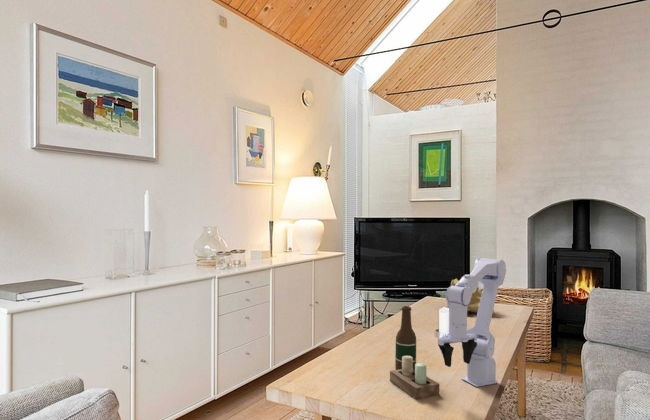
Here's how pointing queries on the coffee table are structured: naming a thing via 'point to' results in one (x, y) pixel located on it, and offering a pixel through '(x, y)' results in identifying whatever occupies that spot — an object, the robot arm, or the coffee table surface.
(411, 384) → the socket board
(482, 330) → the robot arm
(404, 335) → the beer bottle
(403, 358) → the birch peg
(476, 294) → the decorative coral
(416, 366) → the green peg
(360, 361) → the coffee table surface
